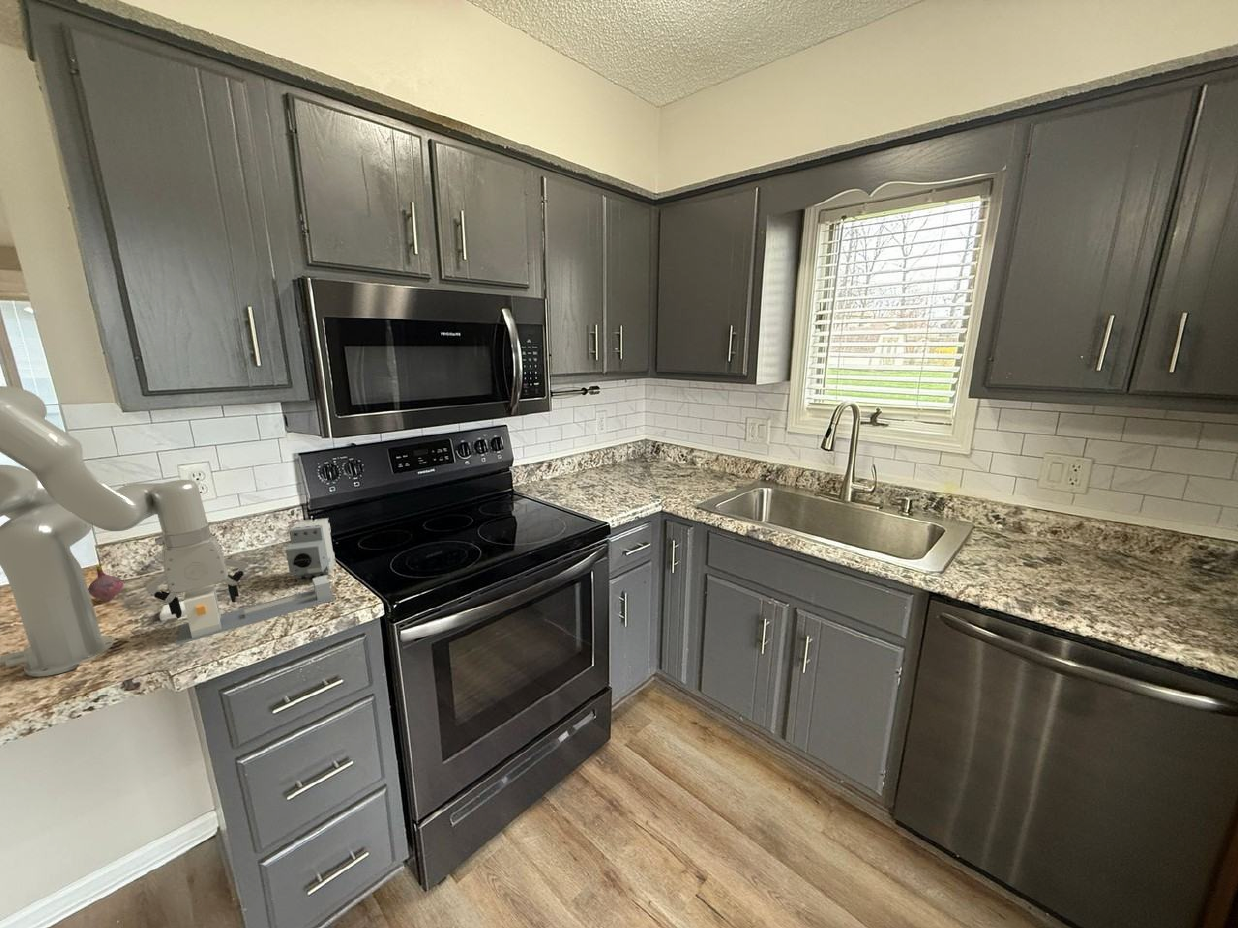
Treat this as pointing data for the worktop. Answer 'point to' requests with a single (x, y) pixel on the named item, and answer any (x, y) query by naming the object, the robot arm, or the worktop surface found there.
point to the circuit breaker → (310, 549)
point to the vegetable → (105, 586)
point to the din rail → (280, 604)
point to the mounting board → (239, 620)
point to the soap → (167, 614)
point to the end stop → (322, 587)
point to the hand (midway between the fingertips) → (207, 607)
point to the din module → (202, 610)
